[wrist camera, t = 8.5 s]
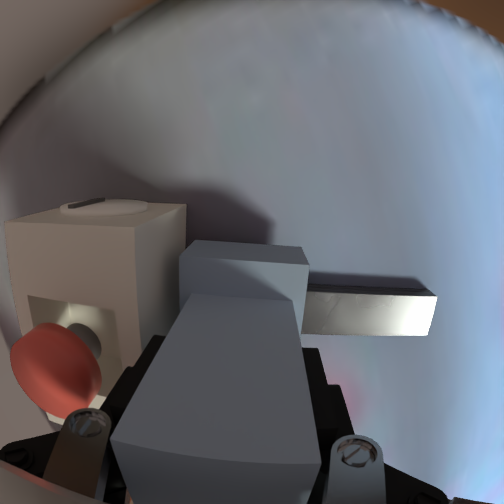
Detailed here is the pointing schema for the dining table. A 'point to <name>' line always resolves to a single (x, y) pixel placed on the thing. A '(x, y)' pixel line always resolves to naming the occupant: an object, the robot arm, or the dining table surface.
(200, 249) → the carriage
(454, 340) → the dining table surface
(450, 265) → the dining table surface
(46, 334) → the button
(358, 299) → the rail
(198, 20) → the dining table surface
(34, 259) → the white button housing
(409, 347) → the dining table surface
